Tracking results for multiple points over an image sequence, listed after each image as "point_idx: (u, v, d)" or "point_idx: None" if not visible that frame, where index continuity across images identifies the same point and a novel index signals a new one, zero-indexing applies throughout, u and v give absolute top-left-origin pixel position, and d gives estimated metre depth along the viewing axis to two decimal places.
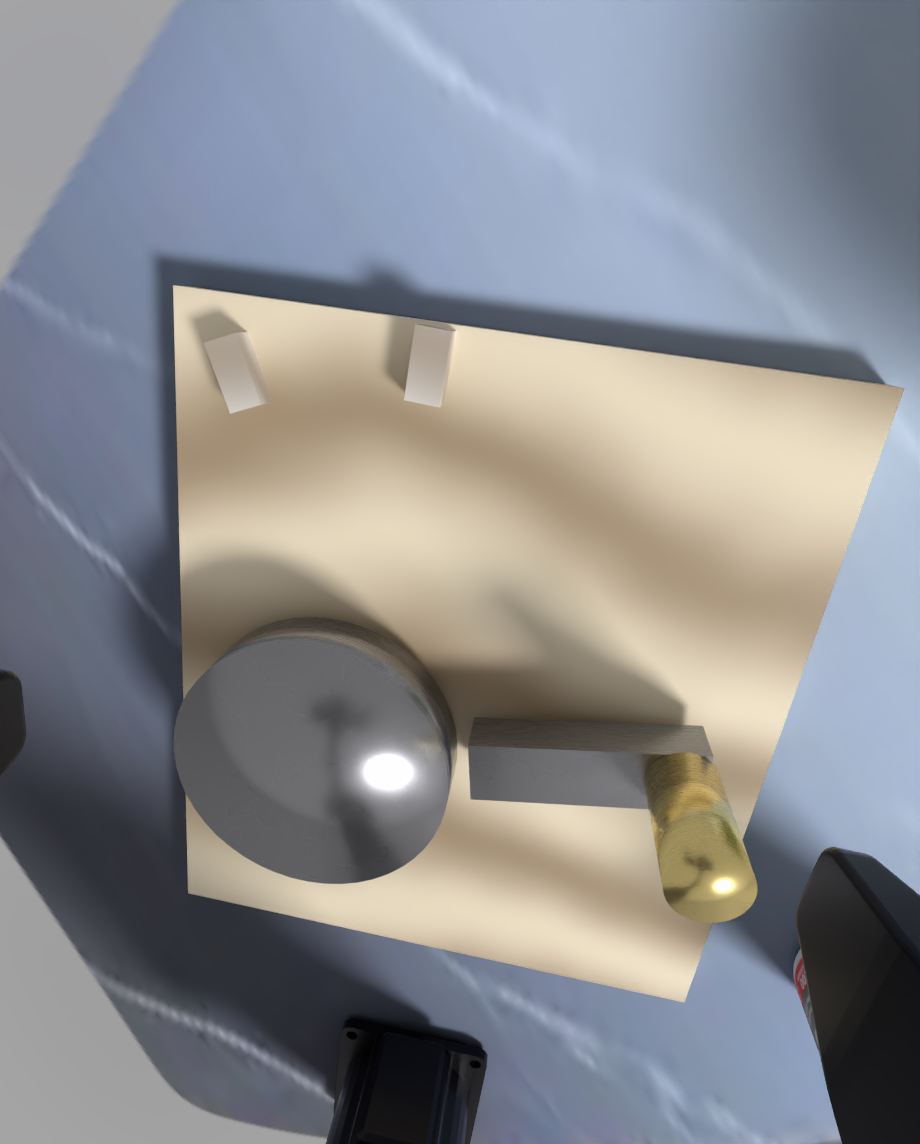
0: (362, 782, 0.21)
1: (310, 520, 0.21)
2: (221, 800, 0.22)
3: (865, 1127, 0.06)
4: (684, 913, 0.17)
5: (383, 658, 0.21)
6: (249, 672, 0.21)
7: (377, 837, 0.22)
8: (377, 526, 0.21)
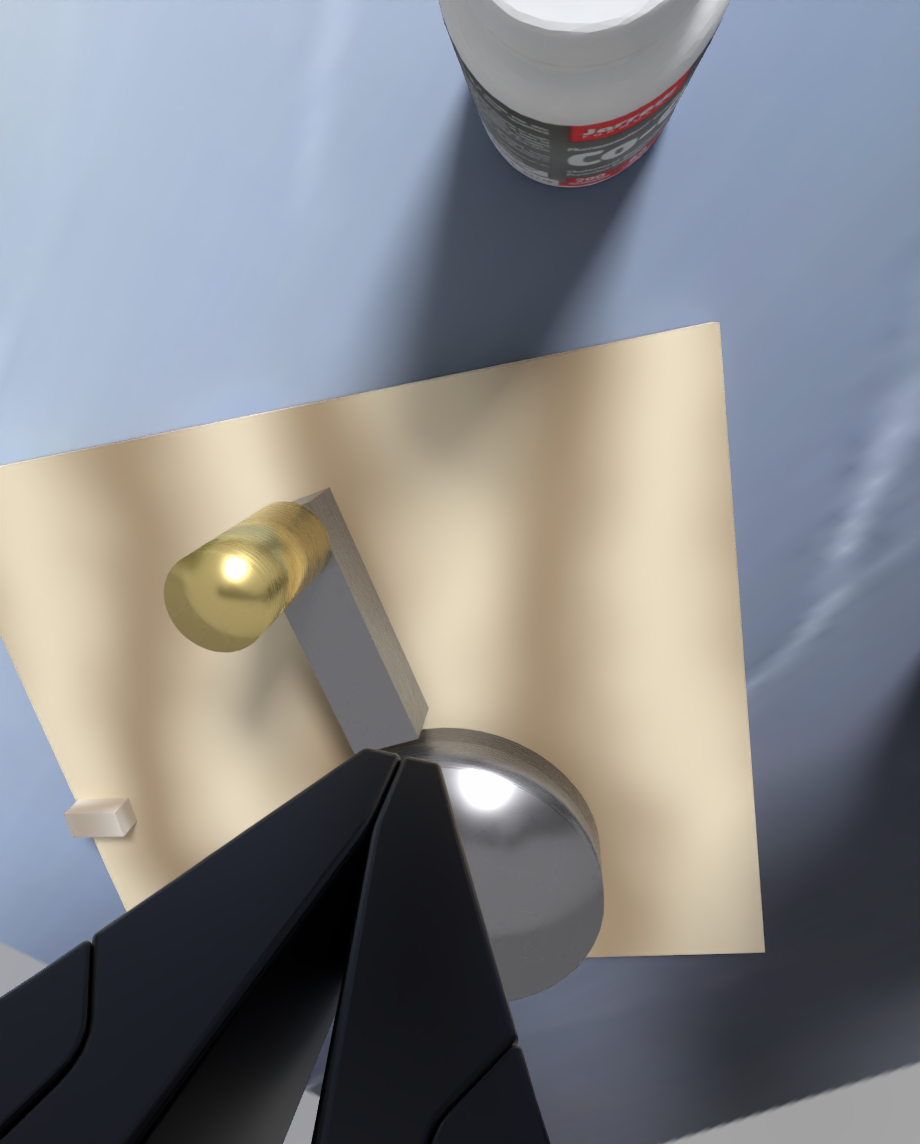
0: None
1: None
2: (525, 965, 0.21)
3: None
4: (269, 610, 0.14)
5: None
6: None
7: (500, 824, 0.19)
8: (243, 827, 0.24)
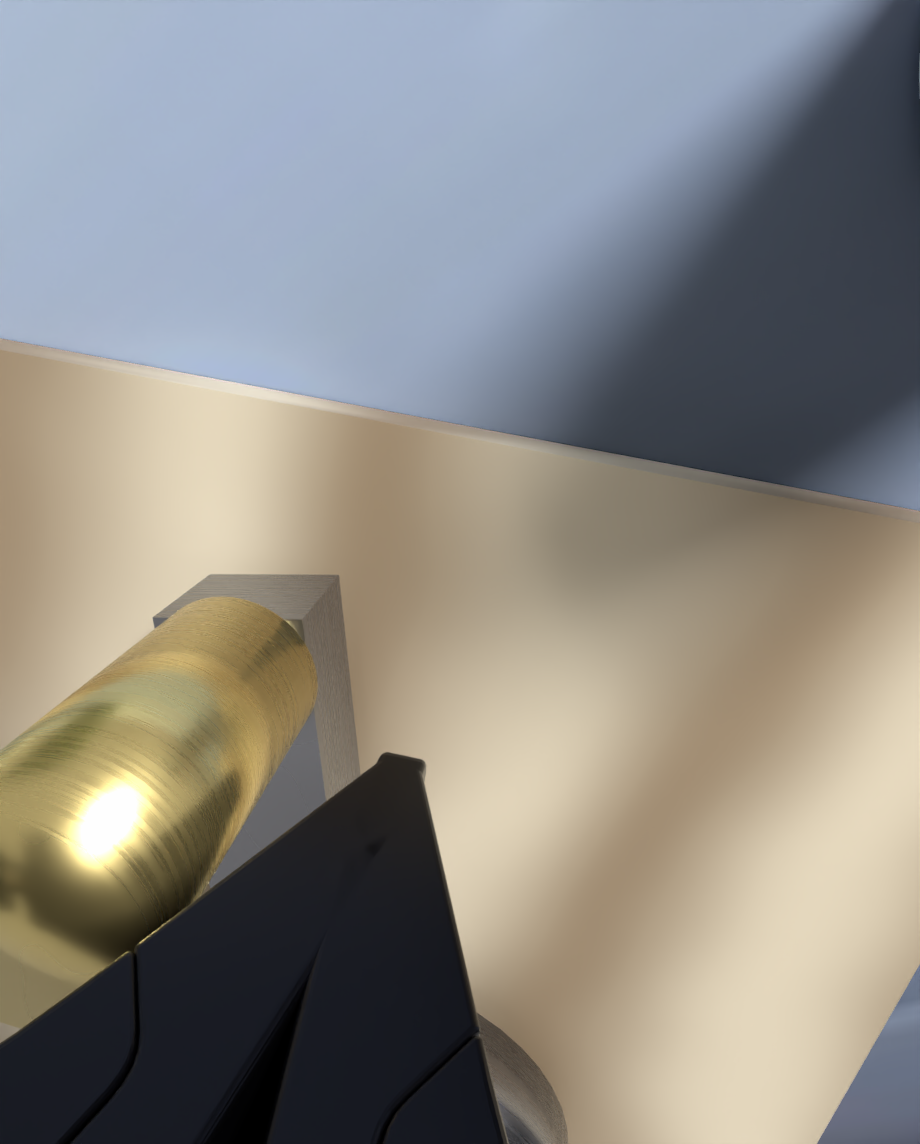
0: None
1: None
2: None
3: None
4: None
5: None
6: None
7: None
8: None
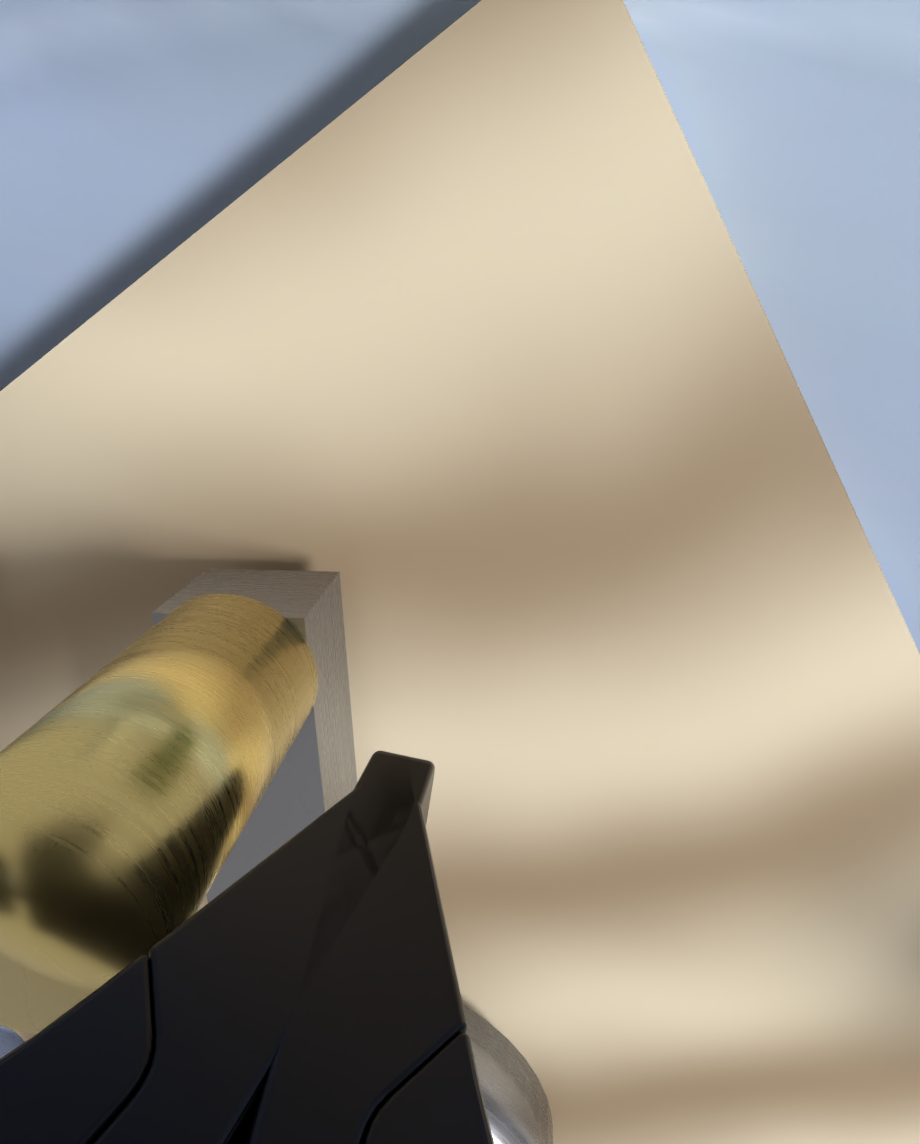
0: None
1: None
2: None
3: None
4: None
5: None
6: None
7: None
8: None
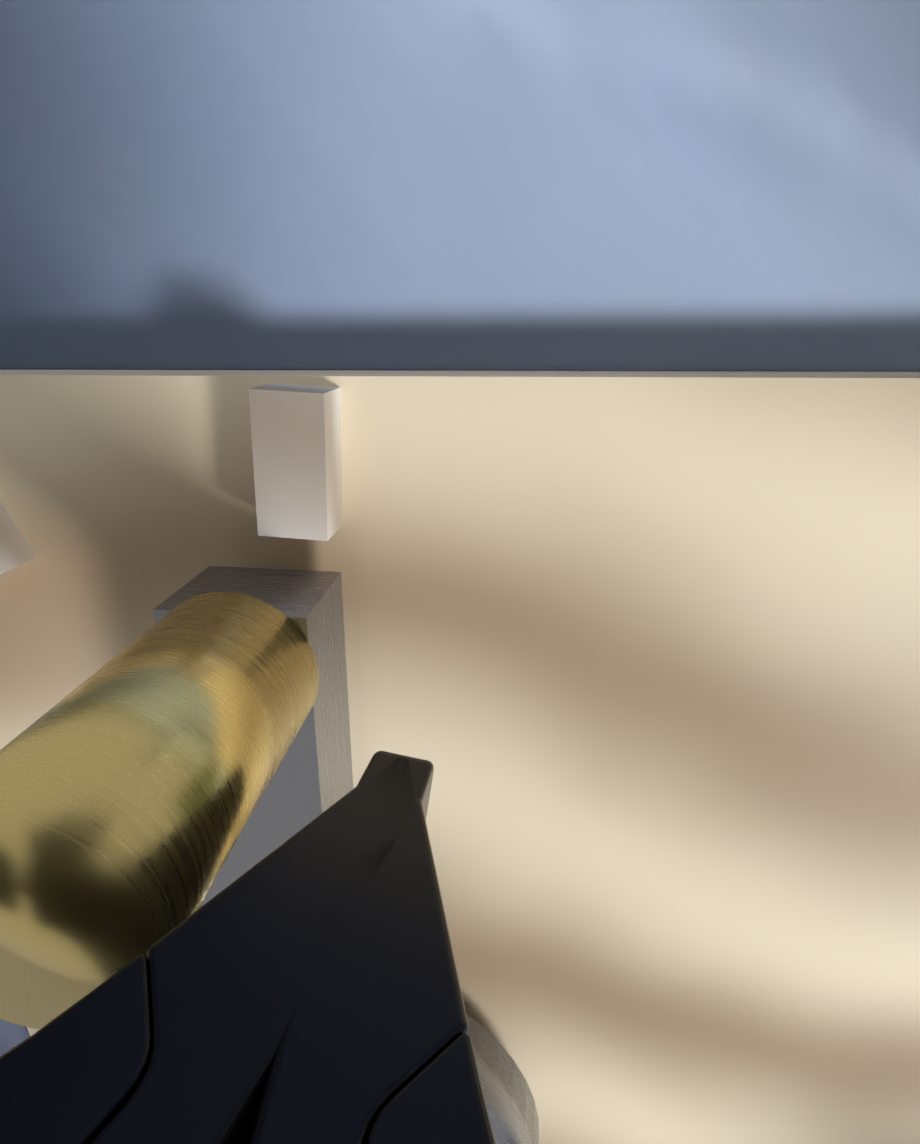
0: None
1: None
2: None
3: None
4: None
5: None
6: None
7: None
8: None
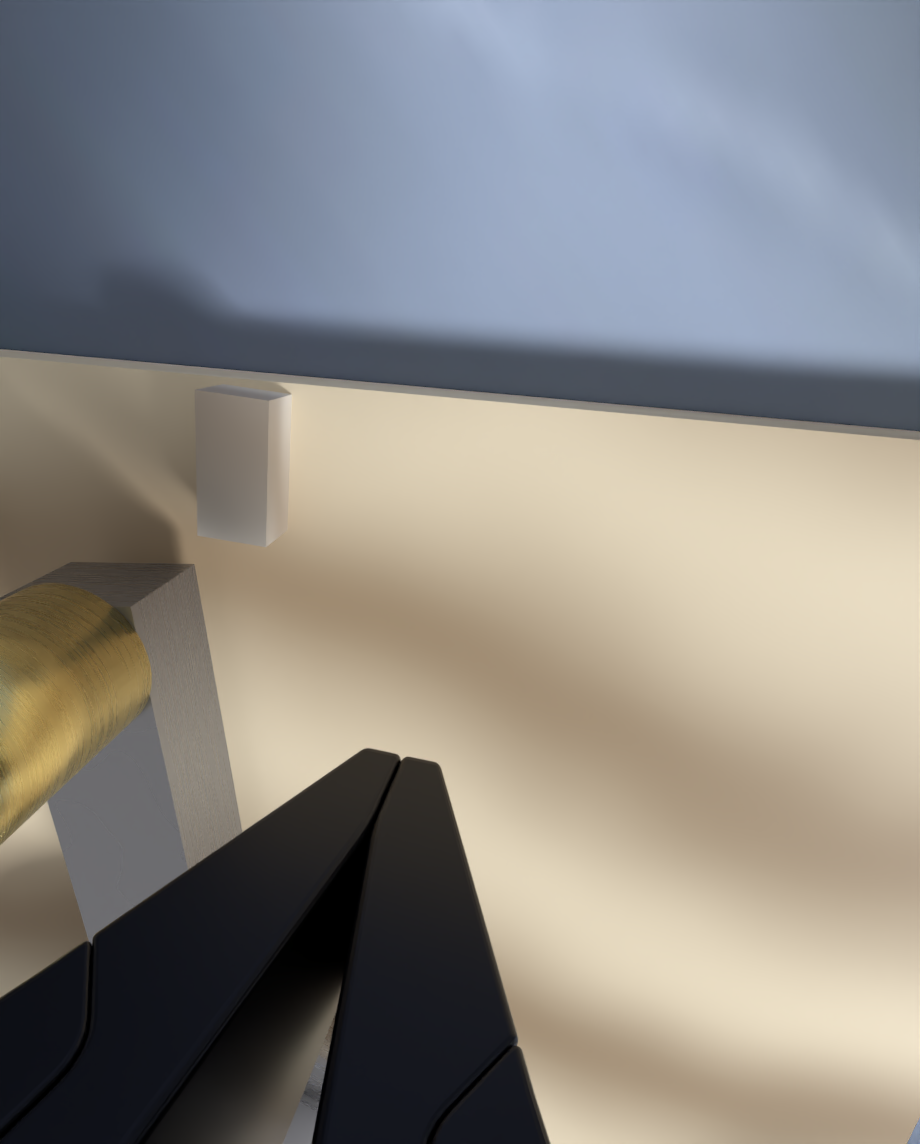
0: None
1: None
2: None
3: None
4: None
5: None
6: None
7: None
8: None
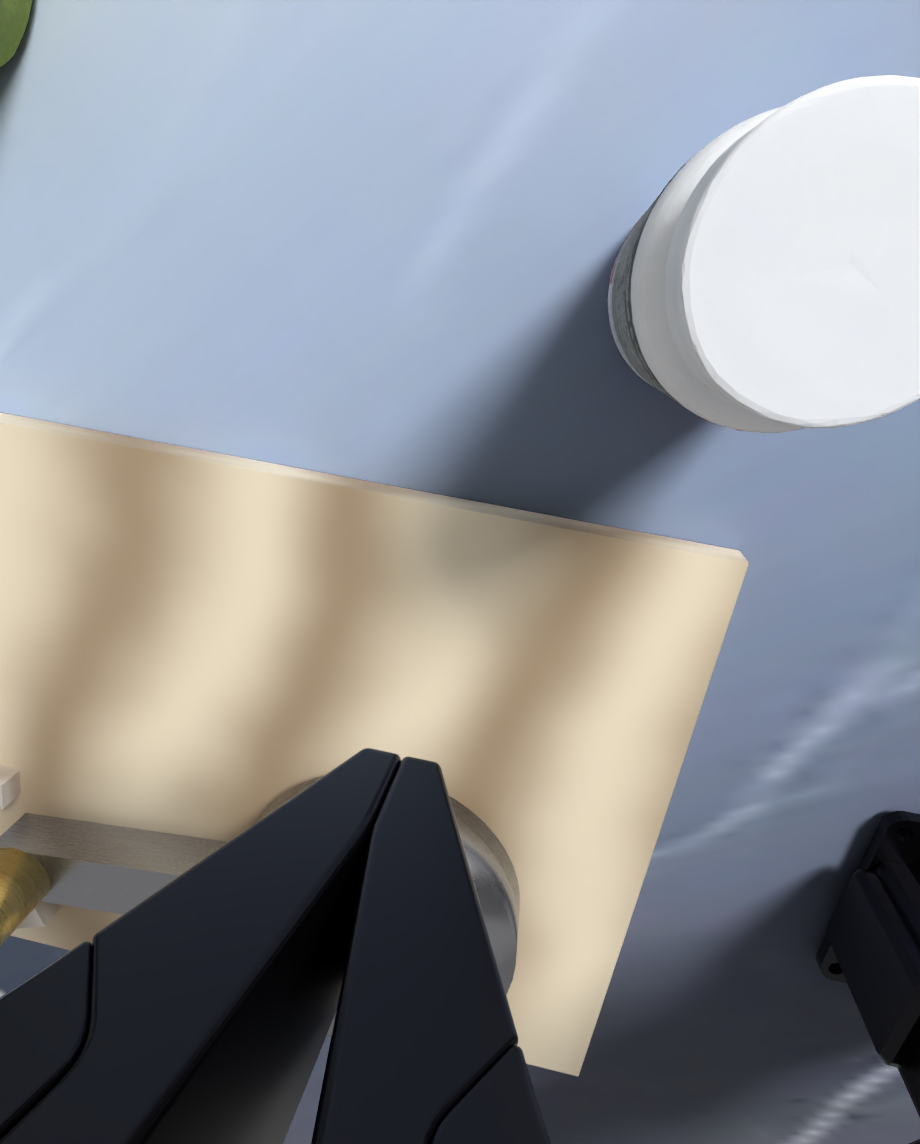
0: None
1: None
2: None
3: None
4: None
5: None
6: None
7: None
8: None
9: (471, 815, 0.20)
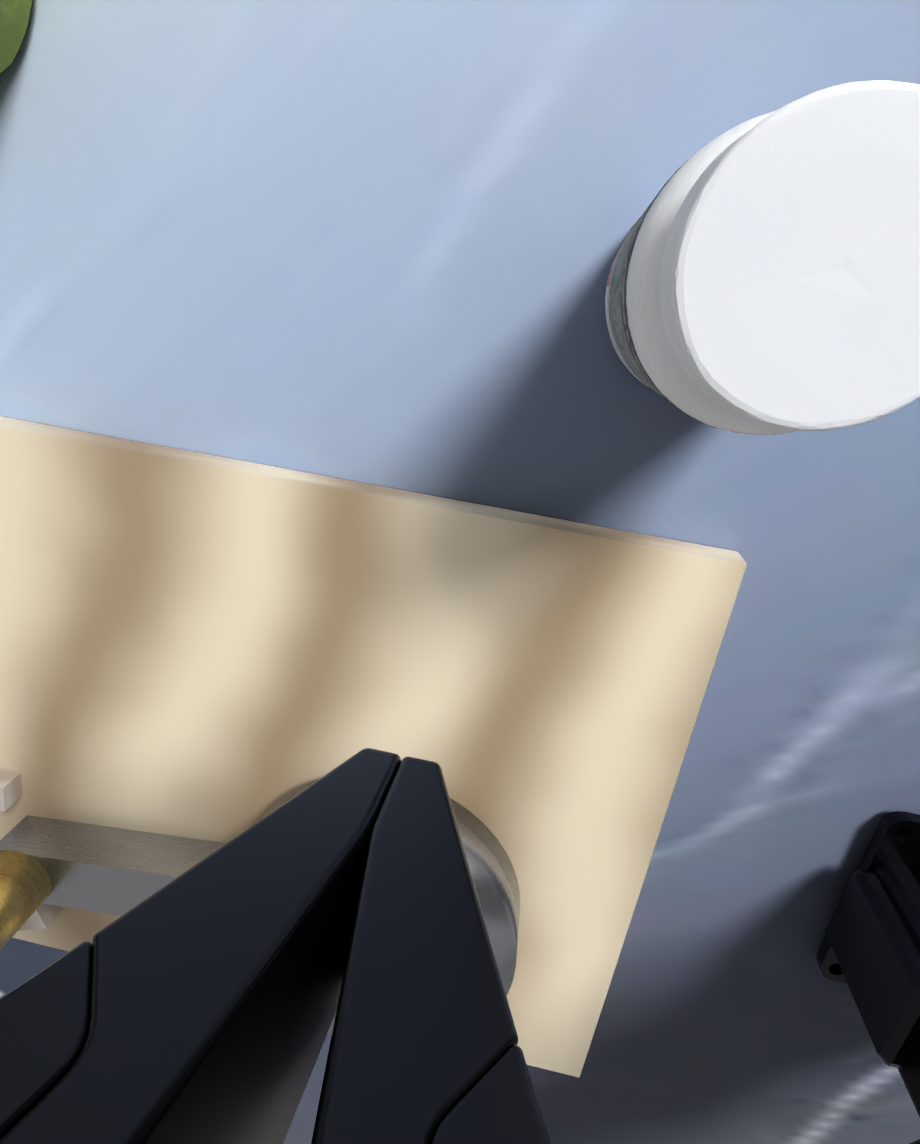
0: None
1: None
2: None
3: None
4: None
5: None
6: None
7: None
8: None
9: (471, 816, 0.20)
